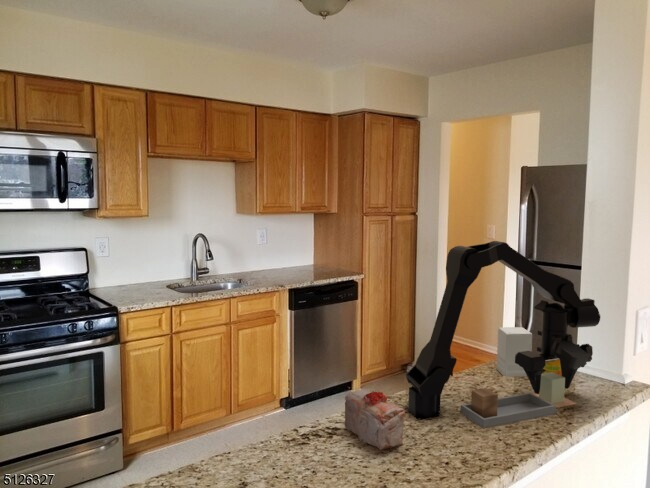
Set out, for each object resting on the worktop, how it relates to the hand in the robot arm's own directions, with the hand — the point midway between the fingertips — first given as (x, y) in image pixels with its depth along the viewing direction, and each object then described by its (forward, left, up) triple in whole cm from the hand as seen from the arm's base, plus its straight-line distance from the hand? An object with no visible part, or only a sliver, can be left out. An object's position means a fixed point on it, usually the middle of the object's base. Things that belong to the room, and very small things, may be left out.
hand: (551, 390), depth 123 cm
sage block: (0, 0, -2) cm, 2 cm away
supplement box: (+5, +19, -3) cm, 20 cm away
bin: (-15, -3, -3) cm, 16 cm away
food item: (-49, -1, -3) cm, 49 cm away
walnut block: (-22, -3, -2) cm, 22 cm away
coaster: (0, 0, -3) cm, 3 cm away
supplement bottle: (+13, +13, -3) cm, 19 cm away
